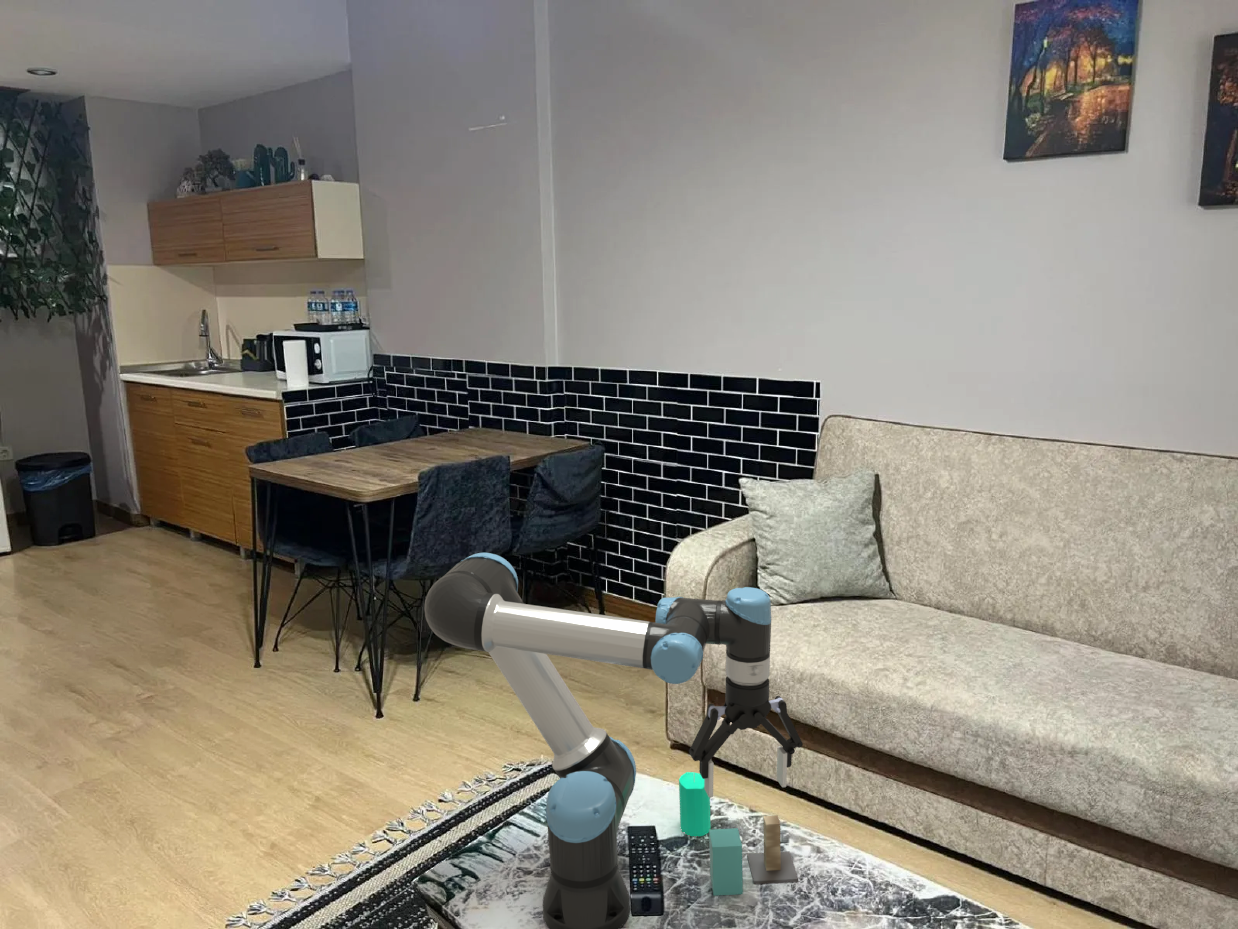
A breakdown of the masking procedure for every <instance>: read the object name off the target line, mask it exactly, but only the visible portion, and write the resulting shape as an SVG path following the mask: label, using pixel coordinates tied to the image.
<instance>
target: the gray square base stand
mask: <svg viewBox="0 0 1238 929" xmlns="http://www.w3.org/2000/svg"><path fill="white" fill-rule="evenodd" d="M746 855H747V856H746V857H747V861H748V866H749V870H750V872H751V873H750V874H751V877H752V882H753V884H754V885H762V884H781V883H784V884H785V883H799V877H798V873H797V869H796V867H795V864H794V861H793V857H792V855H791V852H790V850H789V851H781V822H780V818H779V816H778V815H763V852H750V853H746Z"/></svg>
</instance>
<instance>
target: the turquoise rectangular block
mask: <svg viewBox="0 0 1238 929" xmlns="http://www.w3.org/2000/svg"><path fill="white" fill-rule="evenodd" d="M708 837H709V838H708V839H709V840H708V842H709V843H708V844H709V849H708V850H709V878H710V883H711V890H712V894H713V896H714V897H716V896H731V895H732V896H733V895H735V896H737V895H744V887H743V885H744V884H743V882H744V881H743V879H744V878H743V877H744V876H743V874H744V873H743V844H742V839H741V836H740V831H739V828H738V827H736V828H735V827H733V828H713V829H712V828H710V829H709V833H708Z"/></svg>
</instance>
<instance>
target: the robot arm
mask: <svg viewBox="0 0 1238 929" xmlns="http://www.w3.org/2000/svg"><path fill="white" fill-rule="evenodd" d="M517 575H518V574H517V572H516V570H515V568H514V567H513V565H512V564H511V563H510V562H509V561H507V559H505V558H504V557H502V556H501V555H498V554H495V553H490V552H479V553H474V554H472V555H470V556H467V557H465V558H464V559H461V560H460V561H459V562H458V563H456V564H455V565H454V566H453V567H452V568H451V569H449V571H448V572H446V574H444V575H443V576H442V577H440V578H438V580H437V581H435V582H434V583H433V584H432V586H431V588H430V589H429V590H428V592H427V594H426V596H425V600H424V616H425V620H426V622H427V624H428V626H429V628H430V630H432V632H433V634H435V636H437V637H438V638H439V639H441V640H442V641H444V642H445V643H448V644H451V645H452V646H453V645H454V646H457V647H459V648H464V649H468V650H474V651H479V652H487V653H488V654H489V656H490V657H491V658H492V660H493V661H494V663H495V664H496V666H497V668H498V669H499V671H500V673H501V674H502V676H503V677H504V678H505V680H506V682H507V683H508V684H509V687H510V688H511V689H512V691H513V692H514V694H515V695H516V697H517V699H518V700H519V702H520V703H521V705H522V706H523V708H524V709H525V711H526V713H527V715H528V716H529V718H530V719H531V720H532V722H533V724H534V725H535V726H536V728H537V730H538V731H539V733H540V734H541V736H542V737H543V739H544V741H545V742H546V744H547V745H548V747H549V748H550V750H551V751H552V752H553V760H552V765H551V767H552V769H553V770H554V772H555V773H556V775H557V777H558V778H559V779H558V780H556V782H554V784H553V785H551V787H550V789H549V791H548V794H547V797H546V805H545V818H546V819H545V820H546V822H547V823H546V824H547V837H548V838H547V839H548V851H549V852H548V853H549V864H550V866H549V867H550V874H549V878H548V880H547V884H546V888H545V892H544V894H543V899H542V915H543V916H542V917H543V920H544V923H545V925H546V927H547V928H548V929H621V928H622V927H623V926H624V925H625V924H626V922H627V920H628V919H629V916H630V911H631V905H630V904H631V902H630V901H631V900H630V898H631V897H630V893H629V889H628V887H627V885H626V882H625V881H624V878H623V876H622V874H621V870H620V869H619V859H618V858H619V857H618V838H617V836H618V829H619V826H620V823H621V821H622V817H623V816H624V813H625V810H626V807H627V805H628V802H629V800H630V797H631V795H633V794H632V793H633V791H634V787H635V783H636V778H637V765H636V761H635V758H634V755H633V753H632V752H631V750H630V749H629V747H628V746H627V745H626V744H625V743H623V742H622V741H621V740H619V739H614V738H613V737H611V736H610V735H609V733H608V732H607V730H605V729H604V728H601V727H596V726H593V724H592V723H591V721H590V720H589V718H588V716H587V715H586V713H585V712H584V710H583V709H582V707H581V705H580V704H579V703H578V701H577V700H576V698H575V696H574V695H573V693H572V691H571V690H570V688H569V687H568V685H567V684H566V682H565V681H564V679H563V678H562V675H561V674H560V673H559V671H558V670H557V668H556V666H555V665H554V664H553V661H552V660H551V659H550V657H549V656H557V657H558V656H559V657H564V658H572V659H578V660H585V661H591V662H592V661H593V662H599V663H606V664H612V665H619V666H625V667H632V668H640V669H645V670H649V671H653V673H654V674H655V675H656V677H658V678H659V679H660V680H662V681H664V682H665V683H667V684H672V685H680V684H684V683H686V682H687V681H690V680H691V679H692V678H693V677H694V676H695V674H696V672H698V669H699V667H700V666H701V663H702V661H703V658H704V652H705V651H704V650H705V648H706V645H719V646H721V645H725V646H726V648H725V653H726V654H725V675H726V677H725V693H724V694H725V701H724V704H723V705H721V706H718V705H717V706H715V705H714V704H713V703H709V704H707V708H706V716H705V718H704V720H703V721H702V724H701V726H700V728H699V730H698V732H697V734H696V736H695V737H694V740H693V742H692V744H691V745H690V748H689V749H688V754H689V755H690V757H691V758H692V760H693V761H694V762H699V771H698V773H699V774H700V775H701V776H702V778H703V779H705V780H704V789H705V791H706V793H707V795H708V796H709V797H710V798H714V771H715V770H714V767H715V766H714V765H715V764H714V762H713V760H712V759H713V757H714V756H715V755H716V754H717V752H718V751H719V750H720V748H722V746H724V744H725V743H726V741H727V740H728V739H729V738H730V736H731V735H733V734H734V733H735V732H736V731H737V730H738V729H739V730H740V731H744V730H747V729H757V728H758V727H759V726H760V725H761V726H762V727H763V729H765V730H766V731H767V732H768V733H769V734H770V735H771V736H772V737H773V739H775V740H776V741H777V742H778V744H780V745H778V746H777V751H776V753H777V754H776V756H777V757H776V781H777V782H778V783H779V785H780V786H781V788H786V787H787V775H788V770H787V769H788V768H791V766H792V763H793V762H792V757H793V755H794V753H796V750H795V749H796V748H798V749H799V748H802V747H803V741H802V739H801V737H800V735H799V733H798V731H797V729H796V728H795V726H794V723H793V722H792V720H791V718H790V715H789V714H788V707H787V706H788V705H787V703H786V701H785V700H784V699H783V698H782V696H780V695H776V696H775V698H774V699H771V700H770V675H771V674H770V673H771V672H770V671H771V670H770V669H771V667H770V666H771V642H772V641H771V638H772V612H771V611H772V604H771V603H772V602H771V598H770V597H771V596H769V594H768V593H767V591H764V590H763V589H760V588H756V587H750V586H749V587H748V586H745V587H744V586H743V587H736V588H733V589H731V590H729V591H728V592H727V595H726V598H725V600H724V599H723V600H716V599H715V600H714V599H704V598H703V599H702V598H690V597H689V598H688V597H683V596H677V597H676V596H675V597H662V598H661V599H660V600H659V601H658V603H657V606H656V611H655V622H653V621H649V620H648V621H647V620H640V619H633V618H626V617H619V616H611V615H605V614H598V613H590V612H583V611H575V610H570V609H569V610H568V609H562V608H555V607H548V606H541V605H534V604H526V603H524V601H523V599H522V598H521V597H520V595H519V593H518V589H519V579H518V578H519V577H518V576H517ZM771 709H772V710H773V711H774V712H775V713H777V715H778V716H779V718H780V720H781V722H782V725H783V726H784V728H785V731H786V732H787V735H788V736H789V738H788V739H787V738H786V737H785V736H784V735H783V734H782V733H781V731H779V730H778V729H777V728H776V727H775V726H774V725H773V723H772V722H771V721H770V720H769V719H768V718H767V716H768V714H769V713H770V711H771ZM723 715H725V717H724V718H723V719H722V720H721V717H722V716H723ZM719 720H721V724H720V725H719V727H718V728H717V729H716V730H715V728H716V726H717V723H718V721H719ZM714 730H715V731H714Z"/></svg>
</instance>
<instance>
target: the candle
mask: <svg viewBox="0 0 1238 929" xmlns="http://www.w3.org/2000/svg"><path fill="white" fill-rule="evenodd" d="M704 780H705V779H703V778H702V776H701V775H700V772H692V771H686V772H684V773H683V774H682V775H680V777H679V779H678V791H679V792H678V793H679V823H680V824H679V825H680V827H681V828H680V830H681V829H682V830H681V832H682V833H683V832H685V835H686V834H687V836H688V835H690V836H689V837H693V836H695V837H694V838H697V837H696V836H698V837H703V836H706V835H707V834H709V829H712V826H711V825H712V824H711V797H709V796H708V795H707V793H706V791H705V789H704Z"/></svg>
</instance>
